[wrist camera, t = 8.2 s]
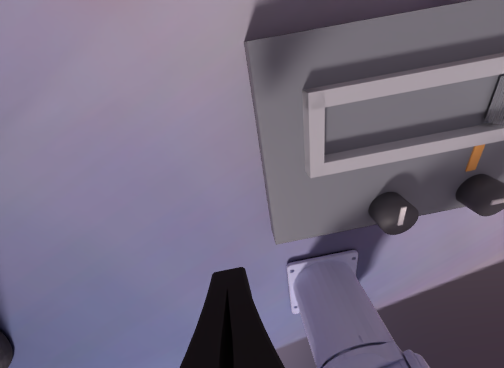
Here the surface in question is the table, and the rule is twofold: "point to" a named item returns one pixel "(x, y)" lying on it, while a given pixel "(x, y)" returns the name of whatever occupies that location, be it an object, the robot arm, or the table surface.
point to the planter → (5, 351)
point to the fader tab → (497, 105)
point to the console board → (380, 119)
